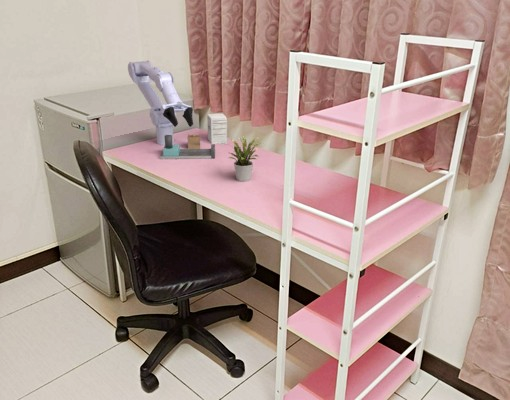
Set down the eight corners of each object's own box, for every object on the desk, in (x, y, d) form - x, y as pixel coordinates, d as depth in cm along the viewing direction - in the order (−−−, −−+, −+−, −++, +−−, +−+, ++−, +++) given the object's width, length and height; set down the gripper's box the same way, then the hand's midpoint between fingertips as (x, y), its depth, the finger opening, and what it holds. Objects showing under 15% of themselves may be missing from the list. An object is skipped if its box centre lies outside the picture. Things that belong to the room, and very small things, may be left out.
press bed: (162, 153, 211) (162, 144, 209) (215, 152, 212) (214, 143, 211) (160, 161, 202) (159, 152, 200) (215, 160, 203) (214, 151, 202)
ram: (165, 151, 210) (164, 133, 206) (179, 151, 210) (178, 132, 207) (163, 157, 202) (162, 138, 199) (178, 157, 203) (177, 138, 199)
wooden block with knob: (188, 147, 219) (188, 133, 216) (200, 147, 219) (199, 133, 216) (188, 151, 214) (187, 136, 211) (199, 151, 214) (199, 136, 212)
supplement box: (207, 141, 227) (206, 113, 222) (223, 139, 230) (223, 112, 224) (211, 146, 221) (210, 118, 216) (227, 144, 223) (227, 116, 218)
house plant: (270, 174, 190) (271, 132, 184) (260, 187, 178) (261, 143, 171) (234, 170, 194) (234, 129, 187) (222, 183, 182) (222, 139, 175)
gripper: (161, 91, 198) (173, 119, 194) (190, 92, 208) (203, 119, 204) (153, 102, 203) (165, 129, 199) (182, 103, 213) (194, 129, 209)
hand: (184, 125), depth 202 cm, fingers open, 7 cm apart
